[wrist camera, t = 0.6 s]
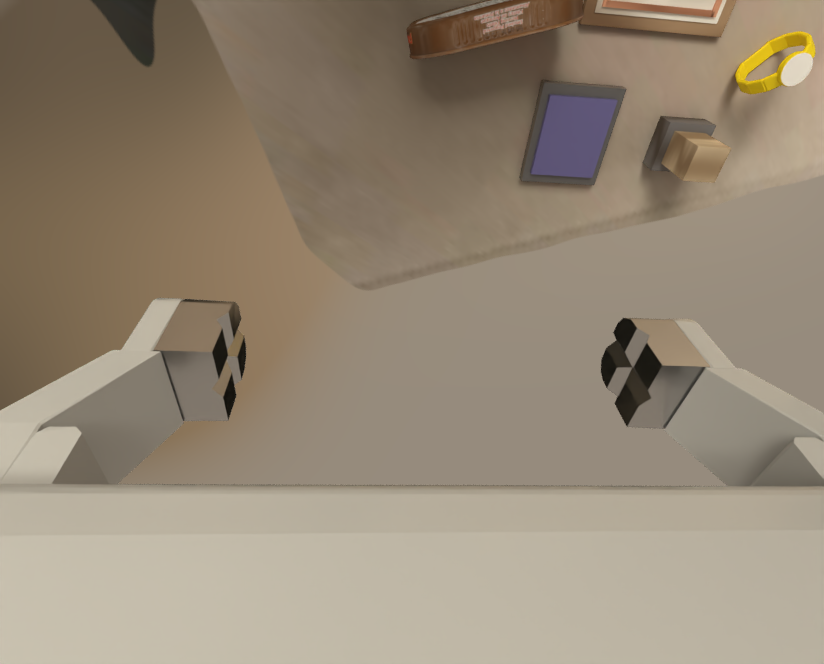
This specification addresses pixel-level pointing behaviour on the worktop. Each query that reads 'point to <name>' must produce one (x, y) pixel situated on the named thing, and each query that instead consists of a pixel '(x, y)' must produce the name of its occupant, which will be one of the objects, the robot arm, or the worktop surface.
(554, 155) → the ink pad
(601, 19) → the board
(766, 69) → the worktop surface
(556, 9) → the tin
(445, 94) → the worktop surface
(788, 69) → the watch
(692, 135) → the stamp
